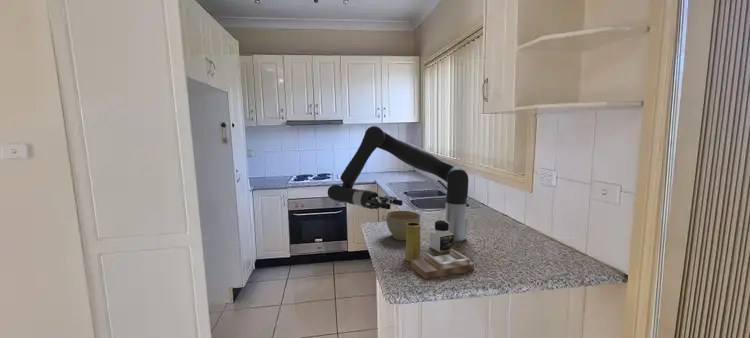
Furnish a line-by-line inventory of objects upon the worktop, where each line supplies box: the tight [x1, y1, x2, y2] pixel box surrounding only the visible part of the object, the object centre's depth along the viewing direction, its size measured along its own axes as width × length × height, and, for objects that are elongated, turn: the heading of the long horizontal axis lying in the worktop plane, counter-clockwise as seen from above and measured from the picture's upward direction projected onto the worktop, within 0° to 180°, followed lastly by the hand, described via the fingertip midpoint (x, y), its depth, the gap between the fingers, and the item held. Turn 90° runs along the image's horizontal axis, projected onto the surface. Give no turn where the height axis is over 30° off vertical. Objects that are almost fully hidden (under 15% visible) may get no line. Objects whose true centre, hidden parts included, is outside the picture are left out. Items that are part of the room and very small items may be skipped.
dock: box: [410, 248, 475, 280], centre depth 123 cm, size 20×11×4 cm, turn 112°
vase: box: [404, 222, 421, 263], centre depth 131 cm, size 6×6×14 cm
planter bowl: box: [385, 210, 421, 241], centre depth 157 cm, size 16×16×11 cm
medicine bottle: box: [429, 219, 454, 253], centre depth 143 cm, size 7×7×12 cm
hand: (396, 204), depth 136 cm, fingers open, 8 cm apart
